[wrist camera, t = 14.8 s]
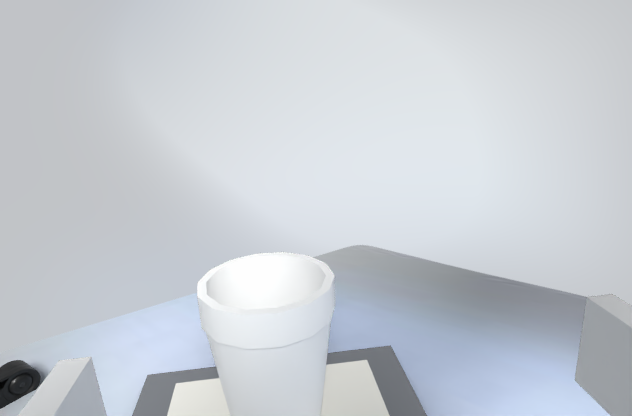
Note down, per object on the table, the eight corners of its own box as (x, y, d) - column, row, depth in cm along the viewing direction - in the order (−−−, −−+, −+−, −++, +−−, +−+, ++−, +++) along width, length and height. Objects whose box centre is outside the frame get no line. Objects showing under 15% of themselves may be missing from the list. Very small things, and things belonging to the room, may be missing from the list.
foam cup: (205, 488, 28) (179, 318, 24) (227, 391, 37) (210, 256, 33) (345, 479, 28) (340, 309, 25) (334, 385, 37) (329, 249, 33)
